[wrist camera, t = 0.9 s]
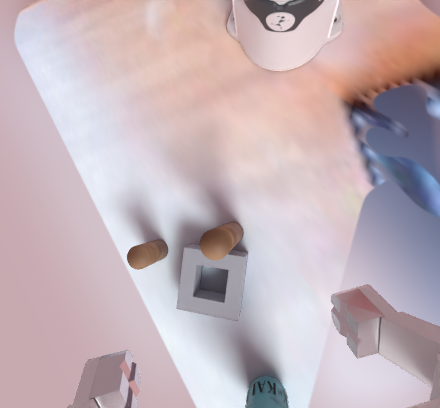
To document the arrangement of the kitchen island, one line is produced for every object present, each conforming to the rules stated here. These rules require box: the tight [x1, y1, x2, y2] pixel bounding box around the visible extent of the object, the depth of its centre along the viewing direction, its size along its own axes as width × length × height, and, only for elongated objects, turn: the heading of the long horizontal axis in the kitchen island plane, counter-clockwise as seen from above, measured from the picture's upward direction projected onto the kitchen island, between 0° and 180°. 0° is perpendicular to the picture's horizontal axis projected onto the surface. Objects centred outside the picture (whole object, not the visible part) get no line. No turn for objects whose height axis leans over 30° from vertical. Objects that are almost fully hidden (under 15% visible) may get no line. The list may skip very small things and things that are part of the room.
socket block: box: [177, 244, 248, 321], centre depth 47 cm, size 10×10×4 cm
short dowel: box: [127, 240, 168, 269], centre depth 47 cm, size 4×4×8 cm
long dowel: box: [200, 222, 243, 260], centre depth 41 cm, size 4×4×16 cm
